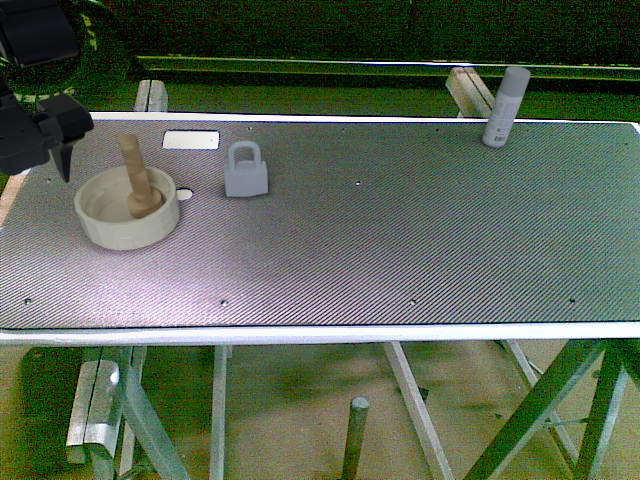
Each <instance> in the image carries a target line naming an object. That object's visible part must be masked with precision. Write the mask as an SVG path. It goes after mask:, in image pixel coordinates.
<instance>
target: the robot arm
mask: <svg viewBox="0 0 640 480" xmlns="http://www.w3.org/2000/svg"><path fill="white" fill-rule="evenodd" d="M0 53H1V54H2V56H3V58H4V59H5V60H6V61H8V60H13V59H14V62H15V63H16V64H17V66H20V67H21V68H29V67H32V66H37V65H40V64H45V63H49V62H54V61H58V60H62V59H67V58H70V57H71V58H72V57H76V56H78V55H79V45H78V41H77V37H76V35H75V31H74V29H73V28H72V27H71V26H70V23H69V21H68V19H67V17H66V14H65V13H64V10H63V9H62V7H61V6H60V4H59V2H58V0H0ZM35 107H36V109H37V111H38V112H34V111H33V110H29V111H27V110H26V109H25V107H23V106H22V104H20V102H19V101H18V98H17V97H16V95H15V93H14V90H13V89H12V88H11V87H10V84H9V82H8V80H7V77H6V75H5V73H4V70H3V69H2V67H1V65H0V171H1V174H4V175H5V176H8V177H15V176H18V175H21V174H22V173H23V172H26V171H27V170H30V169H32V168H35V167H38V166H43V165H46V164H47V163H49V162H50V160H51V156H52V159H53V161H54V164H55V167H56V169H57V170H56V171H58V174H59V175H60V177H61V179H62V181H63V182H64V183H65V184H68V183H70V181H71V180H70V179H71V167H72V166H71V163H72V154H73V150H74V146H75V145H76V144H77V143H78V142H79V141H80V140H83V139H85V138H86V133H89V132H92V131H93V130H94V129H95V127H96V126H95V122H94V120H93V117H92V114H91V112H90V111H89V109H88V108H87V107H86V106H85V105H83V104H82V103H81V102H80V101H78V100H77V99H76V98H75V97H73V96H72V95H70V94H69V93H66V92H62V93H59V94H56V95H52V96H50V97H47V98H43V99H41V100H37V101H36V104H35ZM50 153H51V154H50Z"/></svg>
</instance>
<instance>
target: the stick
mask: <svg viewBox="0 0 640 480" xmlns="http://www.w3.org/2000/svg"><path fill="white" fill-rule="evenodd" d="M117 141H118V145H119V149H120V152H121V156H122V159H123V163H124V166H126V170H127V173H128V177H129V180H130V184H131V187H132V190H133V192H132V193H130V194H129V196H128V197H127V205H128V208H129V211H130V214H131V216H132V217H133V218H135V219H141V218H144V217H146V216H148V215H150V214H152V213H154V212H156V211H157V210H158V209H160V208H161V207H162V206H163V203H162V198H161V194H160V193H159V192H158V191H157V190H155V189H152V188H150V185H149V182H148V178H147V174H146V170H145V166H146V165H145V162H144V157H143V154H142V151H141V146H140V142H139V138H138V135H136V134H134V133H130V132H129V133H123V134H121V135H120V136H119V137H118V138H117Z"/></svg>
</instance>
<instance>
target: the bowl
mask: <svg viewBox="0 0 640 480" xmlns="http://www.w3.org/2000/svg"><path fill="white" fill-rule="evenodd" d="M144 166H145V170H146V174H147V178H148V182H149V185H150V188H152V189H155V190H157V191H158V192H159V193H160V194H161V198H162V203H163V206H162V207H161V208H160V209H158V210H157V211H156V212H154V213H152V214H150V215H148V216H146V217H144V218H141V219H135V218H133V217H132V216H131V214H130V211H129V208H128V205H127V197H128V196H129V194H130V193H132V192H133V190H132V187H131V184H130V180H129V177H128V173H127V170H126V166H125V165H120V166H116V167H111V168H108V169H105V170H103V171H101V172H98V173H96V174H95V175H93V176H91V177H90V178H89V179H87V180H86V181H84V183H83V184H82V185H81V186H80V187H79V188H78V189H77V191H76V193H75V196H74V199H73V204H74V209H75V212H76V214H77V216H78V220H79V221H80V224H81V227H82V230H83V231H84V234H85V236H86V237H87V238H88V239H89V240H90V241H91V242H92V243H93V244H95V245H97V246H100V247H102V248H104V249H108V250H115V251H129V250H130V251H131V250H139V249H141V248H145V247H149V246H151V245H153V244H156V243H157V242H160V241H161V240H163V239H165V238H166V237H167V236H168V235H169V234H170V233H171V232H173V230H175V228H176V226H177V225H178V223H179V221H180V218H181V206H180V202H179V196H178V192H177V191H178V190H177V186H176V184H175V182H174V179H173V178H172V177H171V176H170V175H169V174H168V173H166V171H164V170H162V169H160V168H157V167H155V166H149V165H144Z"/></svg>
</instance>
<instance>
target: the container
mask: <svg viewBox="0 0 640 480" xmlns="http://www.w3.org/2000/svg"><path fill="white" fill-rule="evenodd" d="M531 75H532V72H531V71H530V70H529V69H527V68H524V67H521V66H515V65H511V66H508V67H507V68H506V69H505V72H504V74H503V77H502V80H501V82H500V85H499V88H498V90H497V93H496V96H495V99H494V102H493V105H492V108H491V111H490V113H489V116H488V119H487V123H486V125H485V128H484V131H483V134H482V137H481V142H482V143H483V144H484V145H486V146H488V147H490V148H497V149H498V148H503V147H504V146H505V144H506V142H507V140H508V137H509V135H510V132H511V129H512V127H513V124H514V122H515V119H516V116H517V114H518V111H519V109H520V106H521V103H522V101H523V99H524V95H525V92H526V89H527V86H528V84H529V81H530V78H531Z"/></svg>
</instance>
